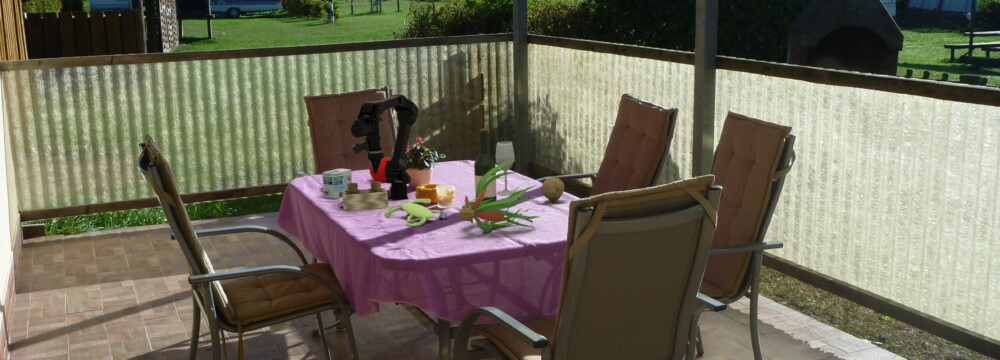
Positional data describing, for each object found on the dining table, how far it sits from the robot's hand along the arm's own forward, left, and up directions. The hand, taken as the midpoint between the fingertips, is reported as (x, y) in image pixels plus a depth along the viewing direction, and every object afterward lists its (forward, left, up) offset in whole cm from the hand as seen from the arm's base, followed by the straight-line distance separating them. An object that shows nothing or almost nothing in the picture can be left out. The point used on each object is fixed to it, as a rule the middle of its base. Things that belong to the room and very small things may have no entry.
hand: (375, 173), depth 417 cm
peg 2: (0, 0, -9) cm, 9 cm away
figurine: (-13, +25, -14) cm, 32 cm away
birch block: (+4, 0, -13) cm, 14 cm away
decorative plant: (-38, +54, -13) cm, 67 cm away
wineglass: (-53, -6, -13) cm, 55 cm away
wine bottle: (-41, +15, -13) cm, 46 cm away
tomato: (-7, -52, -13) cm, 54 cm away
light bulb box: (+14, -25, -13) cm, 32 cm away
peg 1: (+9, 0, -9) cm, 13 cm away
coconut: (-67, +17, -13) cm, 70 cm away
